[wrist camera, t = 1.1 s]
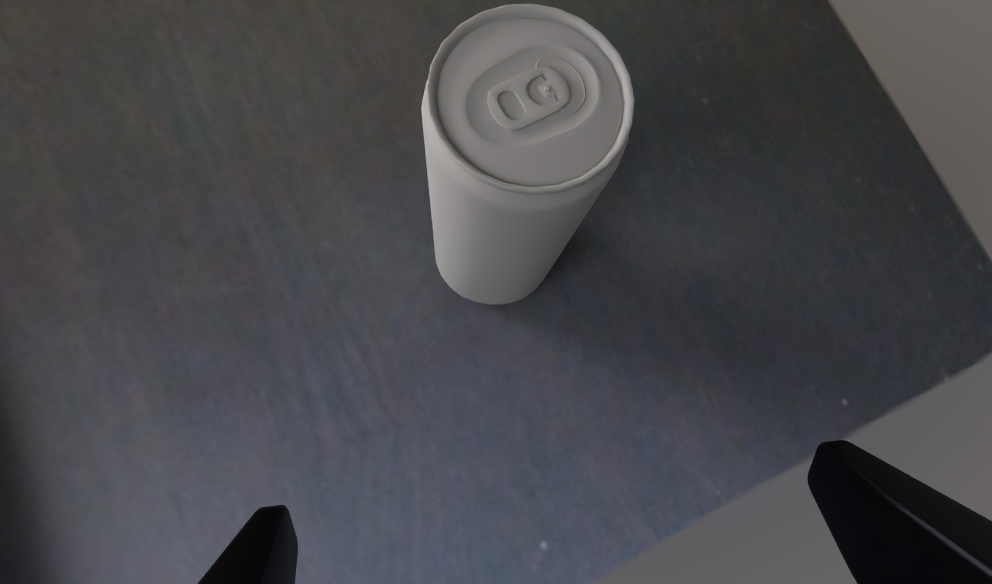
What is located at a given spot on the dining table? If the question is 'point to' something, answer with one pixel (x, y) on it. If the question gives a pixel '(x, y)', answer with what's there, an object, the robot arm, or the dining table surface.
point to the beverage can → (519, 144)
